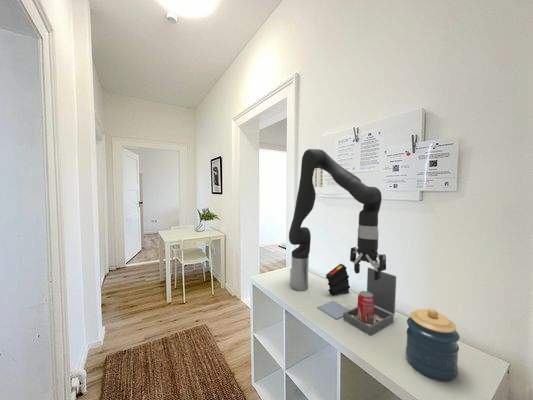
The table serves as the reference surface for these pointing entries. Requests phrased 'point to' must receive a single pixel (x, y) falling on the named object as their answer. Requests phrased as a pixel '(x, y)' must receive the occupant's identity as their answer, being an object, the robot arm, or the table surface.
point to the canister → (432, 344)
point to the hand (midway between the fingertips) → (366, 276)
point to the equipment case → (377, 303)
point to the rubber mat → (333, 309)
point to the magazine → (338, 280)
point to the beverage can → (365, 307)
